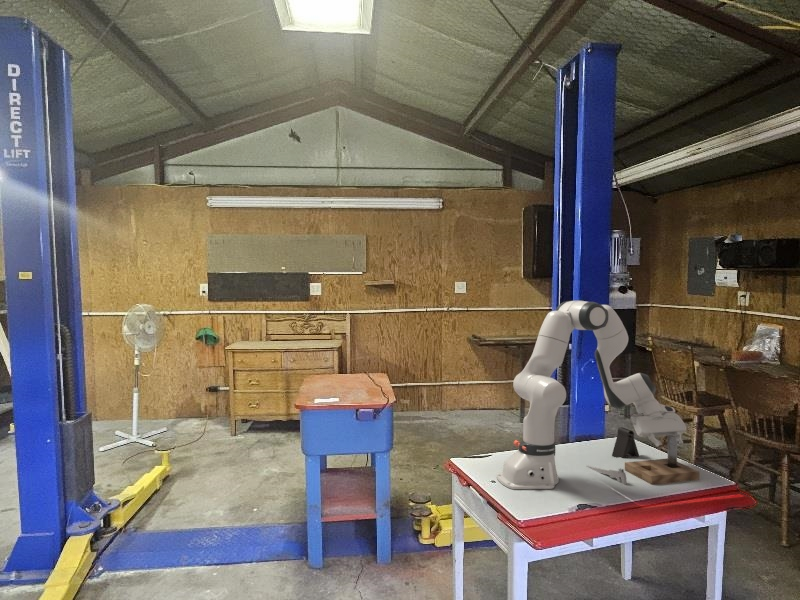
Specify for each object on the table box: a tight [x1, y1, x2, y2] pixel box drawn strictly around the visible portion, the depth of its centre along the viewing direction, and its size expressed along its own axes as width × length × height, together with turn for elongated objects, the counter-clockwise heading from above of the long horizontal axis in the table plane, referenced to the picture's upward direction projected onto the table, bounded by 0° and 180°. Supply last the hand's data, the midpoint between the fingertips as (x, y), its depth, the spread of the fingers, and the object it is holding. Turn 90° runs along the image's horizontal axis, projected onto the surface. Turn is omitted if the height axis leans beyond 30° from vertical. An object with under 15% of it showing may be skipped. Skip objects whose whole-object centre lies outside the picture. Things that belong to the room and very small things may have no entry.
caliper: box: [585, 465, 628, 486], centre depth 176 cm, size 20×1×6 cm, turn 20°
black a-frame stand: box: [611, 426, 640, 459], centre depth 197 cm, size 9×6×12 cm, turn 106°
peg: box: [667, 435, 678, 468], centre depth 176 cm, size 3×3×14 cm
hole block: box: [624, 457, 700, 486], centre depth 175 cm, size 20×14×4 cm
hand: (670, 445), depth 177 cm, fingers open, 8 cm apart
